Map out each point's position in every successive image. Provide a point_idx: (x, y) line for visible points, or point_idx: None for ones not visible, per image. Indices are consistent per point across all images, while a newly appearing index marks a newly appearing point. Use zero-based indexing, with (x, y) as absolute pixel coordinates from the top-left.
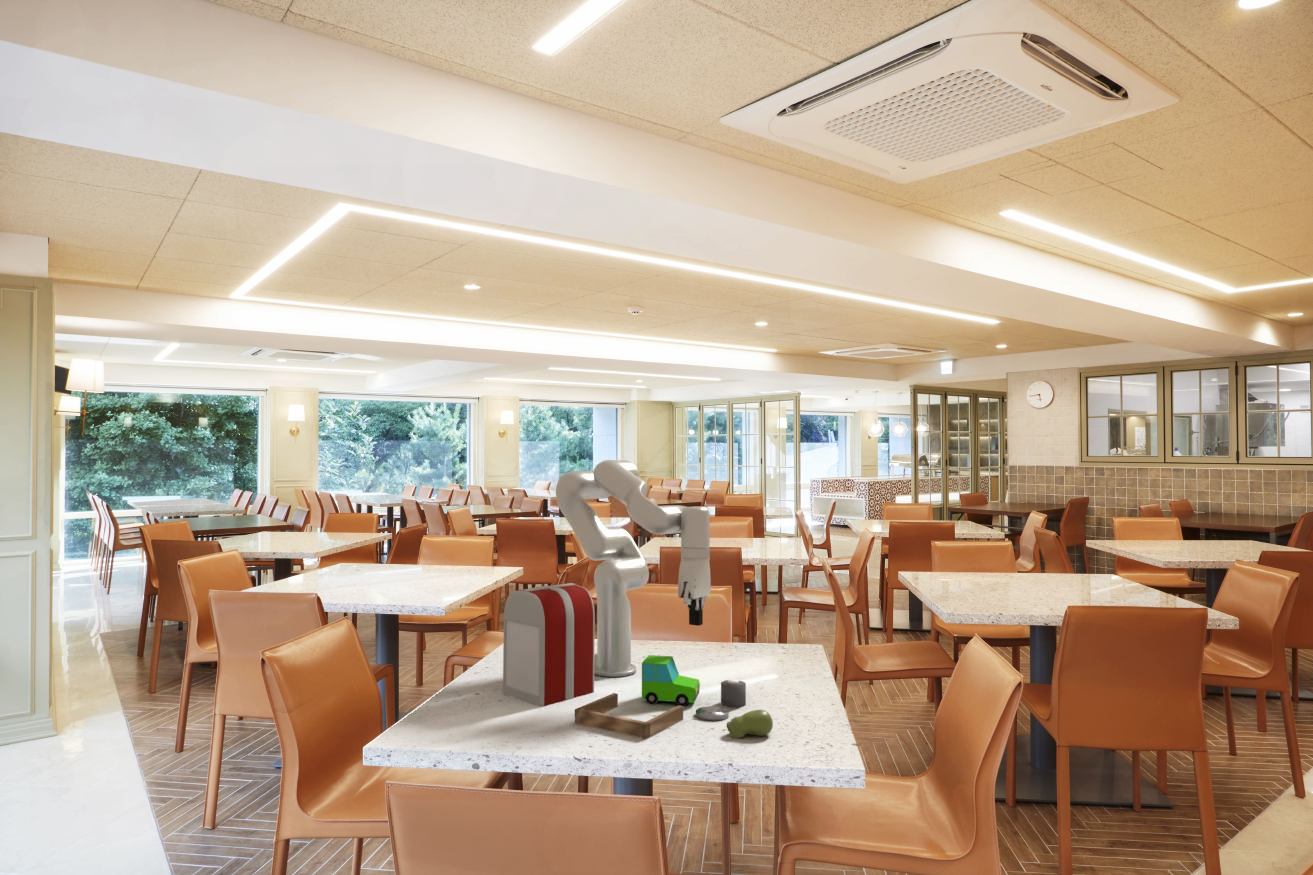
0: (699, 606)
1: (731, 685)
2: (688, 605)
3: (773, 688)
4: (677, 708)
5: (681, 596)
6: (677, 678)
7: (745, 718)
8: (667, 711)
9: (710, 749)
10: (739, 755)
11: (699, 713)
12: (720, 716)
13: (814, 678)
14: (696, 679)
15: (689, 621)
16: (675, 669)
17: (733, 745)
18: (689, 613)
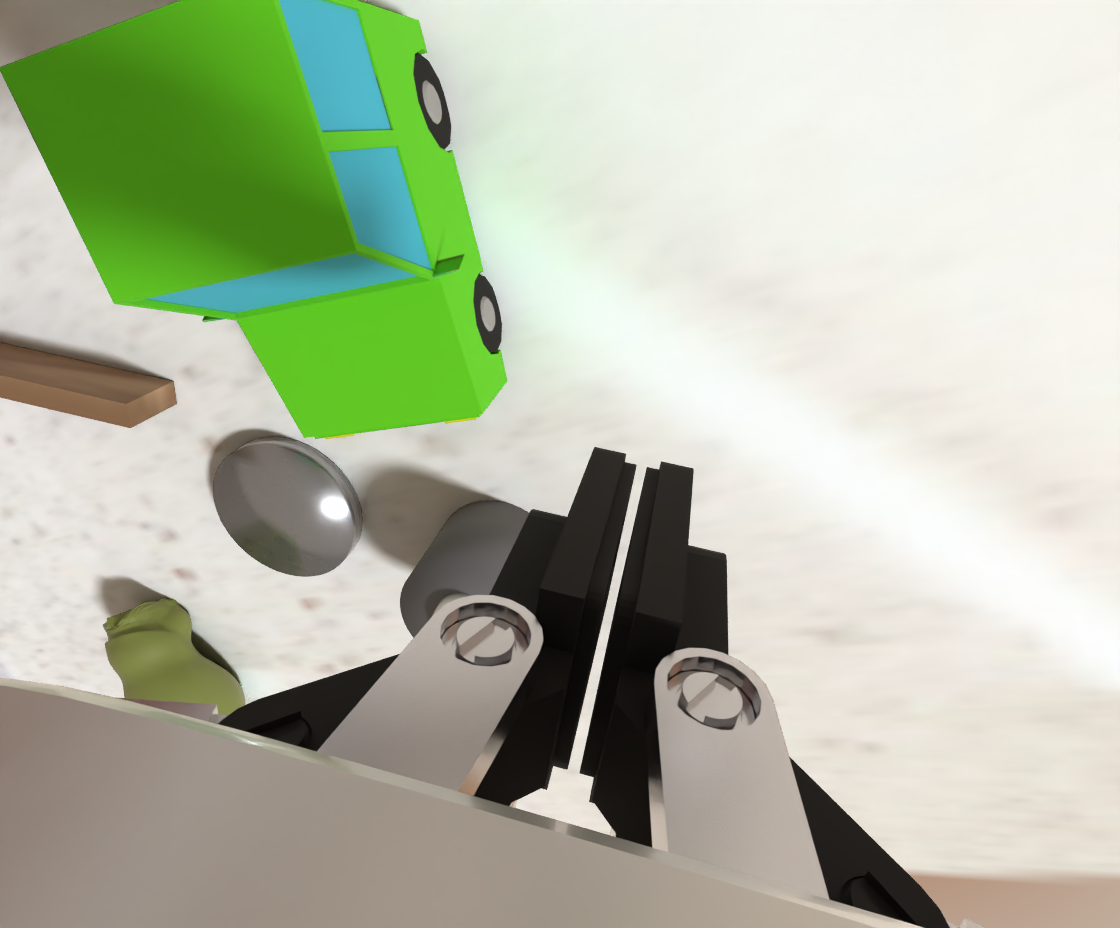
0: (610, 817)
1: (422, 614)
2: (312, 694)
3: (842, 686)
4: (88, 413)
5: (70, 724)
6: (360, 299)
7: (125, 690)
8: (25, 384)
9: (13, 568)
10: (40, 645)
11: (225, 471)
12: (252, 554)
13: (1117, 844)
14: (470, 401)
15: (587, 468)
16: (394, 268)
17: (88, 622)
18: (559, 543)
